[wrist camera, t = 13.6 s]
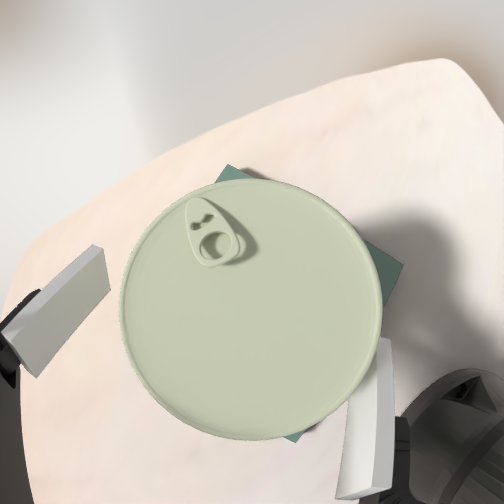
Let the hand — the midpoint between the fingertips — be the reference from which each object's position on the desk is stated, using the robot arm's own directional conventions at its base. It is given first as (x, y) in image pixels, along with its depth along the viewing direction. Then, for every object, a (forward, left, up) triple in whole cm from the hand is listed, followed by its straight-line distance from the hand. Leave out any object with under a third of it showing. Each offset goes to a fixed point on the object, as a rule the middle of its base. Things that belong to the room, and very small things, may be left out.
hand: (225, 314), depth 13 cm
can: (-1, -1, -8) cm, 8 cm away
